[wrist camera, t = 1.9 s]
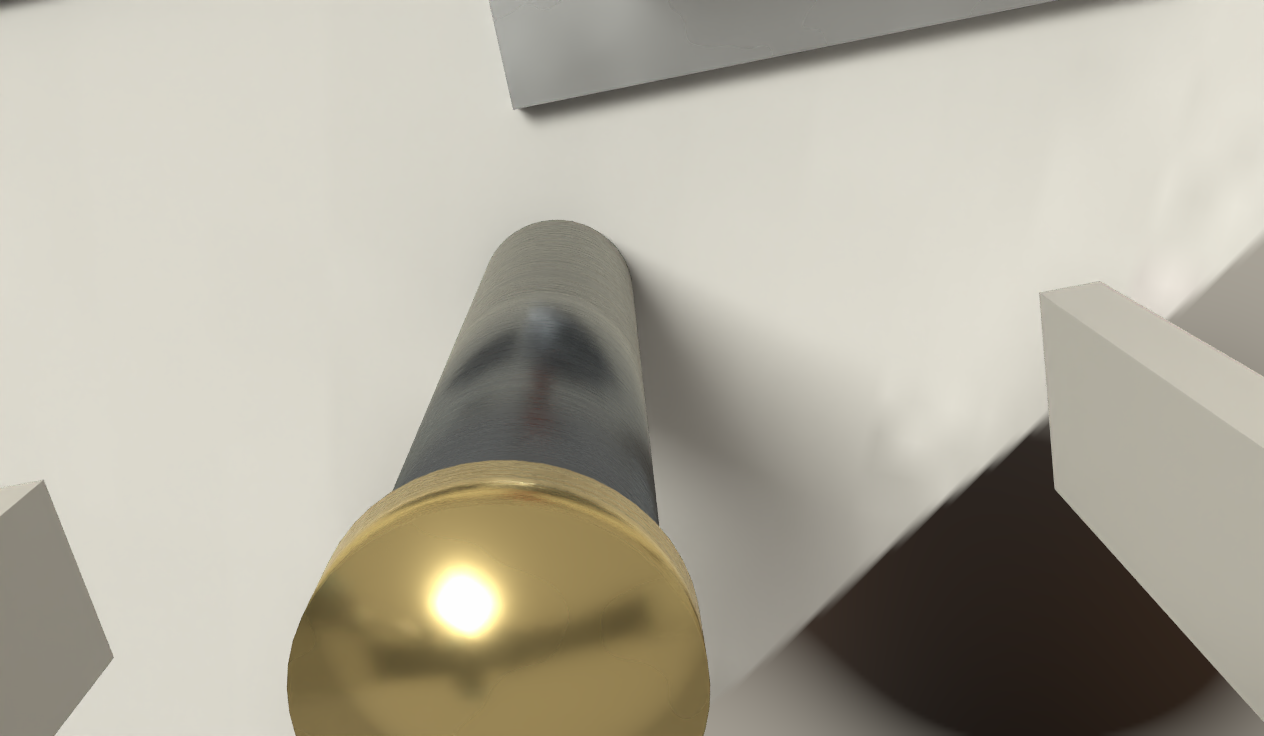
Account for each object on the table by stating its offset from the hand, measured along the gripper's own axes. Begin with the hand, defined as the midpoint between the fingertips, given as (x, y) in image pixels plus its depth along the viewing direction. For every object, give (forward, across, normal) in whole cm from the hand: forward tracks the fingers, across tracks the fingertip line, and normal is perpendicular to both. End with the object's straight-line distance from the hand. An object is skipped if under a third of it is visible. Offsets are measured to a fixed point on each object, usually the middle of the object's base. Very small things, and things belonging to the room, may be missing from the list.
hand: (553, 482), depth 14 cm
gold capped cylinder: (+10, 0, 0) cm, 10 cm away
